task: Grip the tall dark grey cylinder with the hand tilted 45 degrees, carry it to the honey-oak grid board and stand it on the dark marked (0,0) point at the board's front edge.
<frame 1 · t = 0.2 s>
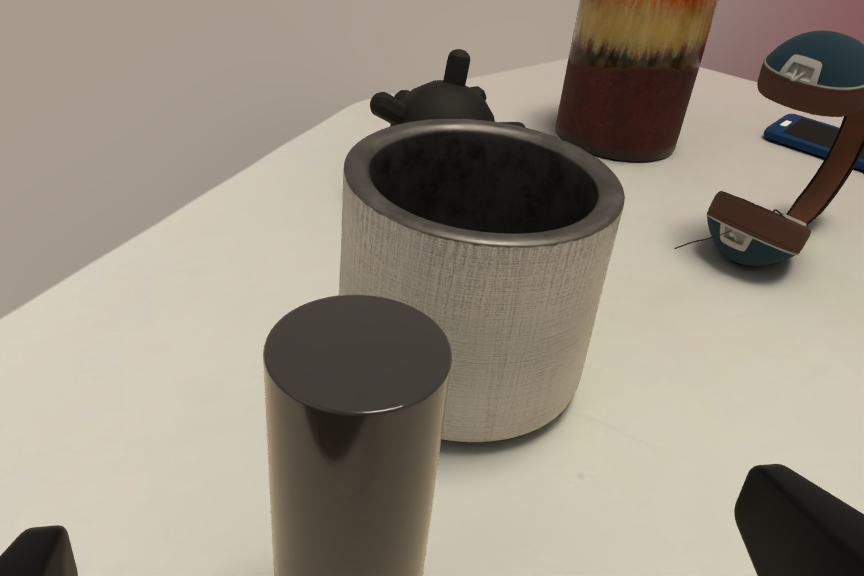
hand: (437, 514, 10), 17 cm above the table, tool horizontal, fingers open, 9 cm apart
planter: (456, 367, 39), on the table
headphones: (748, 256, 52), on the table
cell phone: (846, 153, 69), on the table
vase: (613, 138, 67), on the table
toy ball: (443, 197, 55), on the table
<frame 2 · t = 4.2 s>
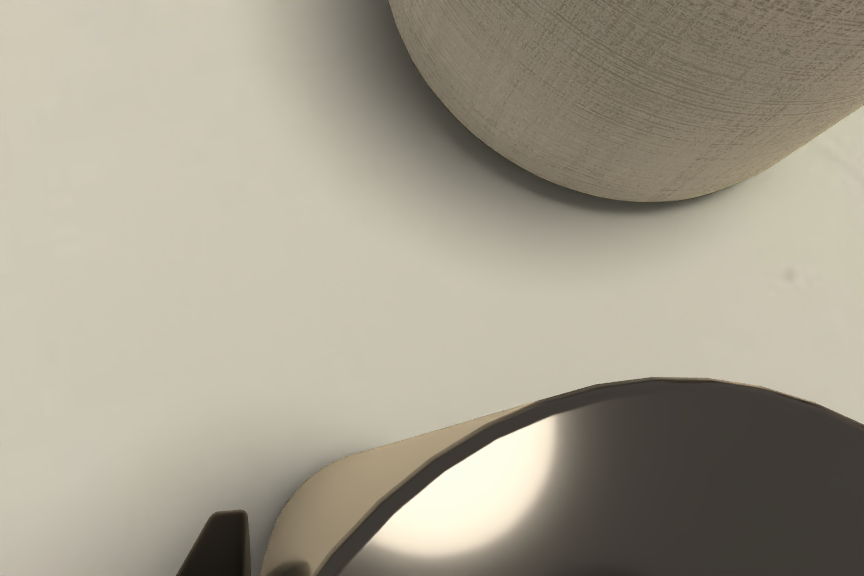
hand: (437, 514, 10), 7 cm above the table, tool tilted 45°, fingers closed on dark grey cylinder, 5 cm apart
planter: (602, 1, 20), on the table
dark grey cylinder: (380, 567, 16), on the table, touching gripper
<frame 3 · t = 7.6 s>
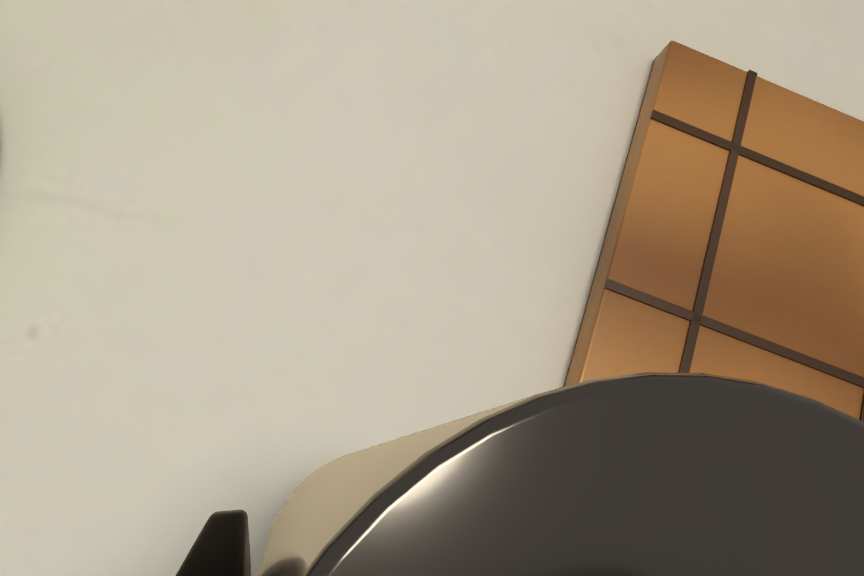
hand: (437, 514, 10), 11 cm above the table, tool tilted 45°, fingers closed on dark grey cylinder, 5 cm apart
dark grey cylinder: (379, 565, 16), point 5 cm above the table, touching gripper
board: (841, 389, 24), on the table
when the fingers open (8 cm above the table, at t = 11.0 s): dark grey cylinder stays where it is, resting on board.
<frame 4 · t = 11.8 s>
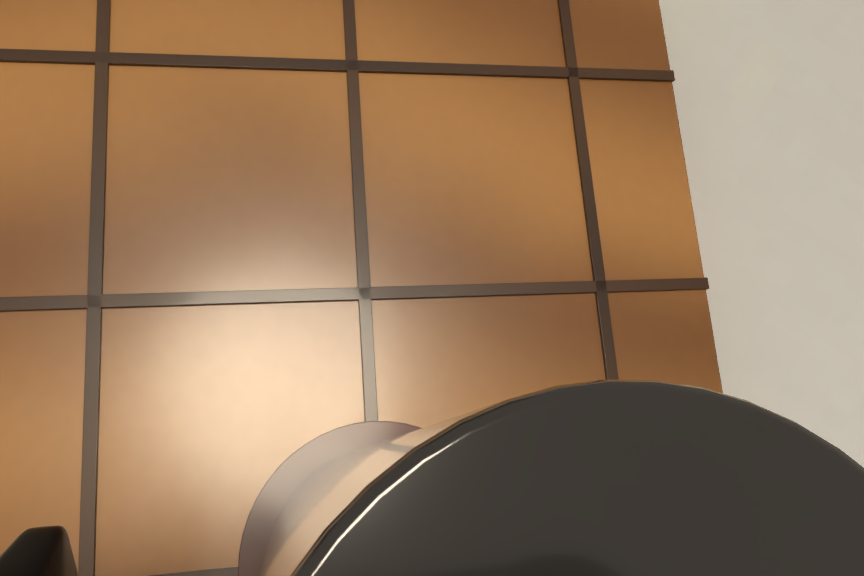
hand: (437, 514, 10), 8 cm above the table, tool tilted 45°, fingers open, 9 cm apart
dark grey cylinder: (377, 561, 16), point 1 cm above the table, touching board
board: (359, 305, 19), on the table
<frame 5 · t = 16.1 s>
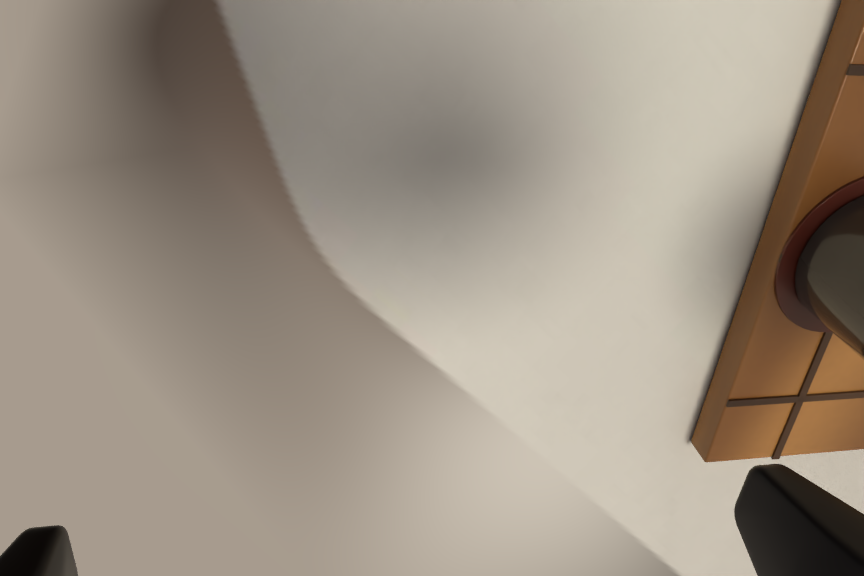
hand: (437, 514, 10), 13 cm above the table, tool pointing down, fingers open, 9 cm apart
dark grey cylinder: (862, 256, 24), point 1 cm above the table, touching board
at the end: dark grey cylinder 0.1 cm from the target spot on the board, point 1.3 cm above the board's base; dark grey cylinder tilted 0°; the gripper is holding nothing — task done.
